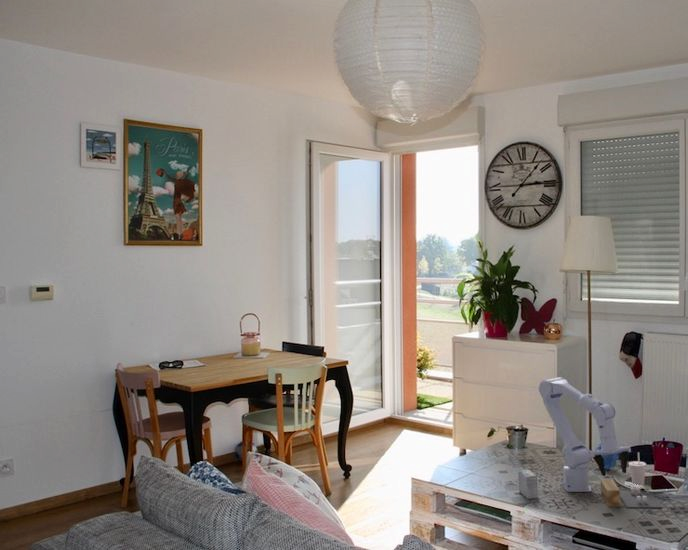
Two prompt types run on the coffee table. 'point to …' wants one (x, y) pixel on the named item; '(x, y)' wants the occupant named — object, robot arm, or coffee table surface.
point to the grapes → (609, 459)
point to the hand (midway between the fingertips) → (614, 474)
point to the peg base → (639, 499)
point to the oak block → (610, 493)
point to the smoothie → (637, 471)
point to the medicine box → (528, 484)
